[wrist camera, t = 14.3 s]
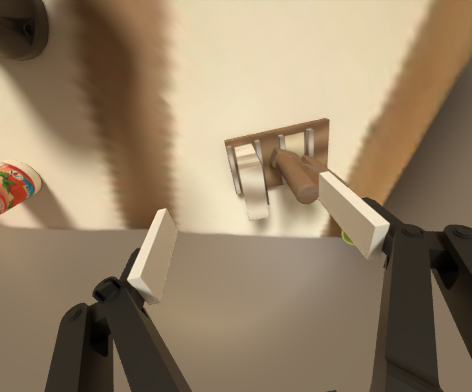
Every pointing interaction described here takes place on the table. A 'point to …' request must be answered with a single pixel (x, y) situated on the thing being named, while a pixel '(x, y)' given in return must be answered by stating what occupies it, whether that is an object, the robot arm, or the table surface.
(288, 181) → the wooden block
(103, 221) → the table surface
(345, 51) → the table surface
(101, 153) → the table surface
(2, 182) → the fruit juice
